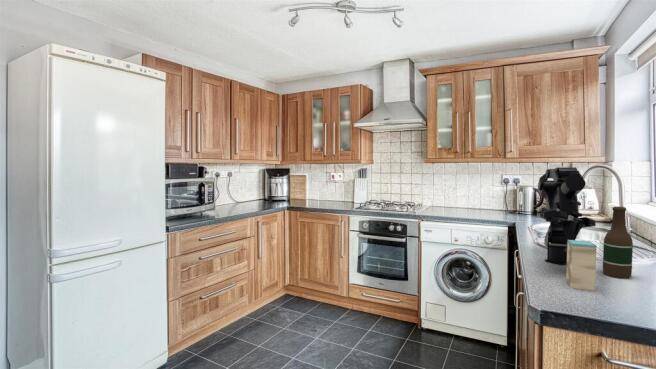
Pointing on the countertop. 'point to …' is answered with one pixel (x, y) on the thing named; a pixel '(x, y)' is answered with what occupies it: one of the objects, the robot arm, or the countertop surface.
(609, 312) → the countertop surface
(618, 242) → the beer bottle
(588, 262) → the pine block
